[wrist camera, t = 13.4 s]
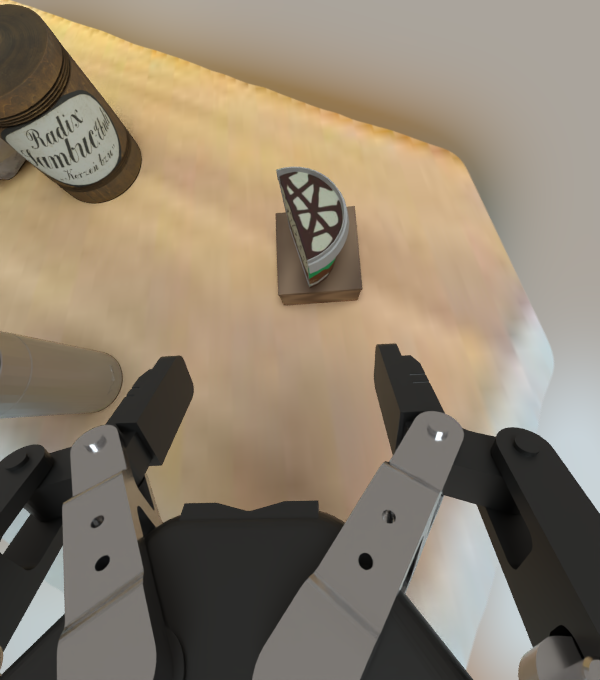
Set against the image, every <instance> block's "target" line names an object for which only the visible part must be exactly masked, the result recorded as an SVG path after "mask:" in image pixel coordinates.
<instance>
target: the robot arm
mask: <svg viewBox="0 0 600 680" xmlns="http://www.w3.org/2000/svg"><path fill="white" fill-rule="evenodd" d="M121 383H122V373H121V369H120V366H119V364H118V362H117V361H116V360H115V359H114V358H113V357H112V356H110V355H109V354H106V353H104V352H99V351H94V350H89V349H85V348H80V347H76V346H71V345H66V344H61V343H56V342H51V341H46V340H42V339H37V338H32V337H27V336H22V335H17V334H12V333H8V332H2V331H0V418H16V417H31V416H47V415H63V414H80V413H93V412H97V411H100V410H102V409H104V408H106V407H107V406H108V405H110V404H111V403H112V402H113V400H114V399H115V398H116V396H117V395H118V393H119V390H120V387H121ZM374 383H375V389H376V393H377V397H378V401H379V405H380V408H381V412H382V416H383V420H384V424H385V427H386V431H387V435H388V439H389V442H390V446H391V450H392V454H393V457H392V458H391V460H390V461H389V462H386V461H385V462H384V463H383V464H382V465H381V466H380V467H379V469H378V471H377V472H376V474H375V476H374V477H373V479H372V480H371V482H370V484H369V485H368V487H367V488H366V490H365V492H364V493H363V495H362V497H361V498H360V500H359V501H358V503H357V505H356V506H355V508H354V510H353V511H352V513H351V514H350V516H349V518H348V519H347V521H346V523H344V522H343V521H341V520H340V519H338V518H336V517H334V516H332V515H330V514H327V513H324V512H321V511H319V504H318V501H284V502H281V503H277V504H274V505H270V506H267V507H263V508H260V509H256V510H253V511H244V510H241V509H237V508H233V507H230V506H226V505H223V504H219V503H187V504H184V507H183V510H182V513H181V515H180V516H177V517H174V518H172V519H170V520H168V521H166V522H164V523H163V522H162V520H161V517H160V515H159V511H158V508H157V505H156V502H155V498H154V495H153V492H152V488H151V485H150V482H149V479H148V476H147V474H146V471H147V469H148V467H149V466H161V465H162V464H163V462H164V459H165V457H166V455H167V453H168V450H169V448H170V446H171V444H172V442H173V439H174V437H175V435H176V433H177V431H178V428H179V426H180V424H181V422H182V420H183V417H184V415H185V413H186V411H187V408H188V406H189V404H190V402H191V400H192V397H193V393H194V387H193V382H192V380H191V377H190V375H189V372H188V369H187V367H186V364H185V362H184V359H183V358H182V357H181V356H166V357H161V358H160V359H159V360H158V361H157V363H156V364H155V366H154V367H153V369H149V370H148V371H147V372H146V373H144V374H143V375H142V376H141V377H139V378H138V380H137V381H136V383H135V384H134V385H133V387H132V389H131V390H130V391H129V392H128V394H127V397H125V398H124V399H123V401H122V402H121V404H120V405H119V406H118V408H117V409H116V411H115V412H114V413H113V415H112V416H111V418H110V419H109V420H108V422H107V423H106V424H105V425H102V426H98V427H96V428H93V429H91V430H89V431H87V432H86V433H84V434H83V435H82V436H81V437H79V438H78V439H77V440H76V442H75V443H74V444H73V446H72V447H70V448H66V449H63V450H59V451H56V452H53V453H48V452H47V451H46V449H45V448H44V447H43V446H41V445H29V446H26V447H23V448H20V449H18V450H16V451H15V452H13V453H11V454H10V455H8V456H7V457H5V458H4V459H3V460H2V461H1V462H0V540H1V538H2V536H3V535H4V533H5V532H6V530H7V529H8V528H9V526H10V525H11V523H12V522H13V521H14V519H15V518H16V517H17V515H18V514H19V512H20V511H21V510H22V508H24V509H26V510H27V511H28V512H29V513H30V516H29V517H28V519H27V520H26V522H25V523H24V525H23V526H22V527H21V529H20V530H19V532H18V533H17V535H16V536H15V538H14V539H13V540H12V542H11V543H10V545H9V546H8V548H7V549H6V551H5V552H4V554H3V555H2V554H1V553H0V669H1V666H2V661H3V652H4V650H5V648H6V646H7V644H8V643H9V641H10V639H11V637H12V635H13V633H14V632H15V630H16V628H17V626H18V625H19V623H20V621H21V619H22V617H23V616H24V614H25V612H26V610H27V608H28V606H29V605H30V603H31V601H32V599H33V598H34V596H35V594H36V592H37V590H38V589H39V587H40V585H41V583H42V582H43V580H44V578H45V576H46V574H47V573H48V571H49V569H50V567H51V565H52V564H53V562H54V560H55V558H56V556H57V555H58V553H59V551H60V549H61V547H62V546H63V559H64V597H65V614H64V615H63V616H62V617H61V618H60V619H59V620H58V621H57V622H56V623H55V624H54V625H53V626H51V627H50V628H49V629H48V630H47V631H46V632H45V633H44V634H43V635H42V636H41V637H40V638H39V639H38V640H37V641H36V642H35V643H34V644H33V645H32V646H31V647H30V648H29V649H28V650H27V651H26V652H25V653H24V654H23V655H22V656H21V657H19V658H18V659H17V660H16V661H15V662H14V663H13V664H12V665H11V666H10V667H9V668H8V669H7V670H6V671H5V672H4V673H3V674H1V673H0V680H473V679H472V678H471V676H470V675H469V674H468V673H467V671H466V670H465V669H464V667H463V666H462V665H461V664H460V662H459V661H458V660H457V659H456V657H455V656H454V655H453V654H452V652H451V651H450V650H449V649H448V647H447V646H446V645H445V644H444V642H443V641H442V640H441V639H440V637H439V636H438V635H437V634H436V632H435V631H434V630H433V628H432V627H431V626H430V625H429V623H428V622H427V621H426V620H425V618H424V617H423V616H422V615H421V613H420V612H419V611H418V610H417V608H416V607H415V606H414V605H413V603H412V602H411V601H410V600H409V598H408V597H407V596H406V594H405V593H406V591H407V588H408V586H409V583H410V581H411V579H412V576H413V574H414V571H415V569H416V566H417V563H418V561H419V558H420V556H421V553H422V550H423V547H424V545H425V542H426V540H427V537H428V535H429V532H430V530H431V527H432V525H433V522H434V520H435V517H436V515H437V512H438V510H439V507H440V505H441V502H442V500H443V497H444V495H446V496H449V497H453V498H456V499H460V500H463V501H467V502H470V503H474V504H477V507H478V509H479V512H480V514H481V517H482V519H483V522H484V524H485V527H486V530H487V532H488V535H489V537H490V540H491V542H492V545H493V547H494V550H495V552H496V555H497V557H498V560H499V562H500V565H501V568H502V570H503V573H504V575H505V578H506V580H507V583H508V585H509V588H510V590H511V593H512V595H513V598H514V600H515V603H516V605H517V608H518V611H519V613H520V615H521V618H522V620H523V623H524V626H525V628H526V631H527V633H528V636H529V638H530V641H531V644H532V646H533V648H532V649H531V650H530V651H528V652H527V653H526V654H525V655H524V656H523V657H522V659H521V661H520V664H519V670H518V671H519V673H518V677H519V680H600V513H599V512H598V511H597V509H596V508H595V506H594V505H593V504H592V502H591V501H590V499H589V498H588V497H587V496H586V494H585V493H584V491H583V490H582V488H581V487H580V485H579V484H578V483H577V481H576V480H575V478H574V477H573V476H572V474H571V473H570V472H569V470H568V468H567V467H566V466H565V464H564V463H563V462H562V460H561V459H560V457H559V456H558V455H557V453H556V452H555V450H554V449H553V448H552V446H551V445H550V444H549V443H548V442H547V441H546V440H544V439H543V438H542V437H540V436H539V435H537V434H535V433H533V432H531V431H528V430H525V429H521V428H514V427H512V428H505V429H502V430H501V431H499V432H498V434H497V436H496V437H494V436H489V435H485V434H480V433H475V432H471V431H468V430H465V429H463V428H462V427H461V425H460V424H459V423H458V422H457V421H456V420H455V419H454V418H452V417H451V416H449V415H447V414H445V413H444V411H443V409H442V407H441V405H440V403H439V400H438V398H437V396H436V394H435V392H434V390H433V388H432V386H431V384H430V383H429V380H428V378H427V376H426V375H425V372H424V370H423V368H422V366H421V364H420V363H419V362H418V361H417V360H416V359H414V358H413V357H412V356H411V355H407V356H401V353H400V351H399V349H398V346H397V344H378V345H376V350H375V367H374Z"/></svg>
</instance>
